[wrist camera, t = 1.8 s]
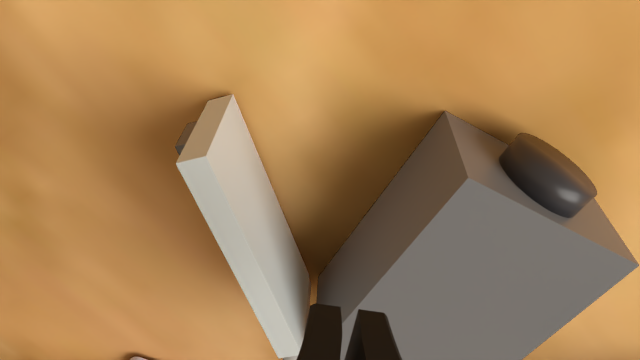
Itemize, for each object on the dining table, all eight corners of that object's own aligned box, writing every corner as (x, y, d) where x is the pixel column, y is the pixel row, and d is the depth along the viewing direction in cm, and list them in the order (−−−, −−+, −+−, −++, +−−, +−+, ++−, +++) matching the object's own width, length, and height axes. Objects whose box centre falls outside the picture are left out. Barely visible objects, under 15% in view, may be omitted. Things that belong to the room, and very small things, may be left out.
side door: (314, 288, 24) (308, 367, 21) (284, 293, 25) (274, 373, 21) (232, 94, 19) (205, 156, 15) (195, 103, 19) (160, 167, 16)
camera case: (440, 328, 26) (456, 412, 22) (318, 277, 24) (312, 357, 21) (605, 170, 20) (663, 245, 17) (461, 89, 19) (489, 152, 15)
